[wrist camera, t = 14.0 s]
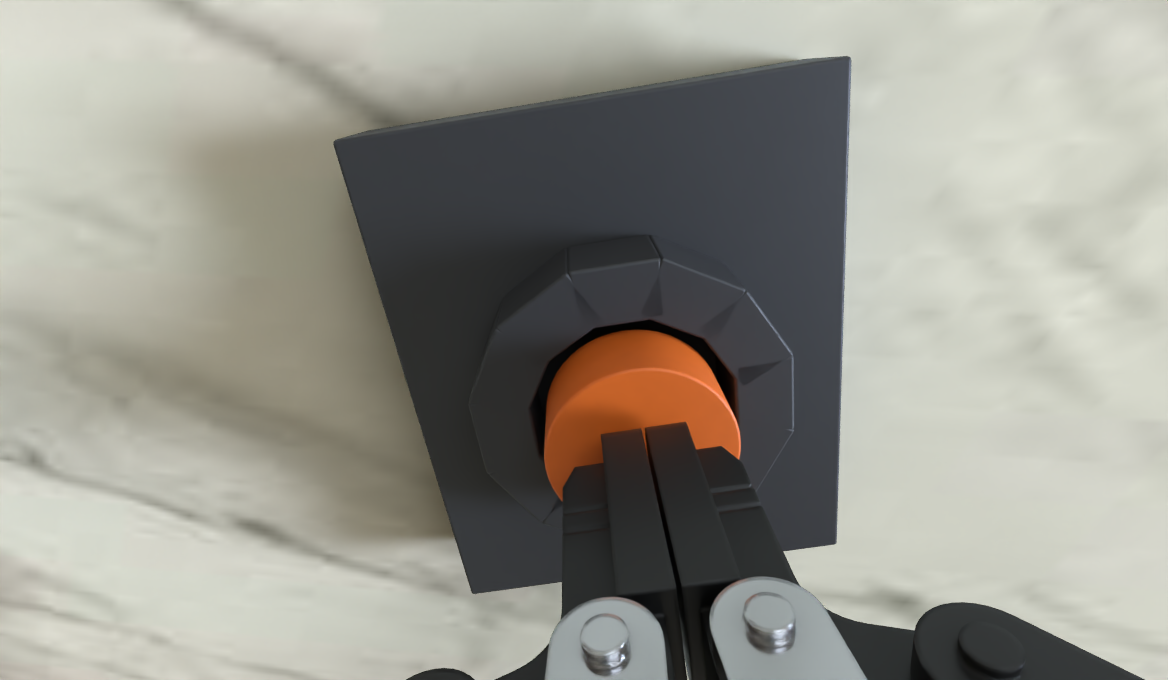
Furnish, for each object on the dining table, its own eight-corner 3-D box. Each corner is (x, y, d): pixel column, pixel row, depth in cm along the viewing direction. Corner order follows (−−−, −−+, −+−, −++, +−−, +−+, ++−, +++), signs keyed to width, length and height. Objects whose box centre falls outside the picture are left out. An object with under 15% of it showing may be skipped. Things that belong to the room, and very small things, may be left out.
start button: (531, 343, 12) (527, 385, 10) (713, 315, 12) (737, 354, 10) (561, 489, 13) (561, 546, 12) (723, 465, 13) (745, 520, 12)
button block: (365, 130, 13) (291, 151, 10) (808, 58, 13) (903, 51, 9) (481, 538, 18) (461, 653, 15) (807, 492, 18) (869, 599, 14)
